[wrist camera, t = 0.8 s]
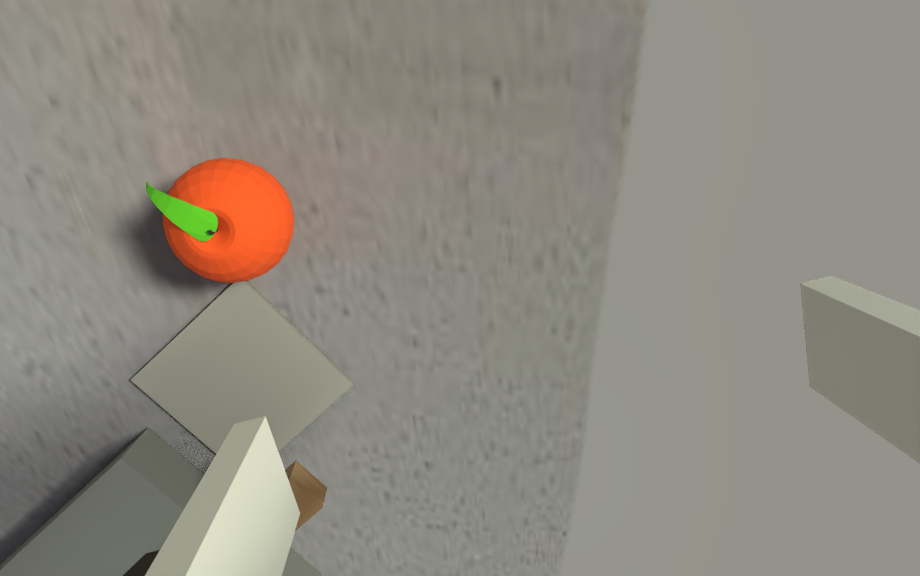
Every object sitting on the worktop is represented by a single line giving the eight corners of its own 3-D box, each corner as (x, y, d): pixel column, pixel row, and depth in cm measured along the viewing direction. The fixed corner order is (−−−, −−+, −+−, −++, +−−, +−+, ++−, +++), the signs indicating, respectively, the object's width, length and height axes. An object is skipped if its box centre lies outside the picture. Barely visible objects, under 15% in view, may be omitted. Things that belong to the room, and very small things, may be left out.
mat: (132, 377, 41) (130, 380, 41) (240, 275, 40) (239, 277, 40) (247, 476, 44) (246, 479, 43) (353, 383, 42) (352, 385, 42)
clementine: (153, 225, 39) (96, 248, 32) (201, 123, 38) (152, 124, 31) (273, 286, 40) (243, 321, 33) (323, 190, 39) (303, 206, 32)
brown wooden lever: (127, 599, 40) (93, 654, 36) (301, 445, 38) (287, 485, 34) (157, 622, 41) (128, 679, 37) (331, 472, 39) (320, 514, 35)
